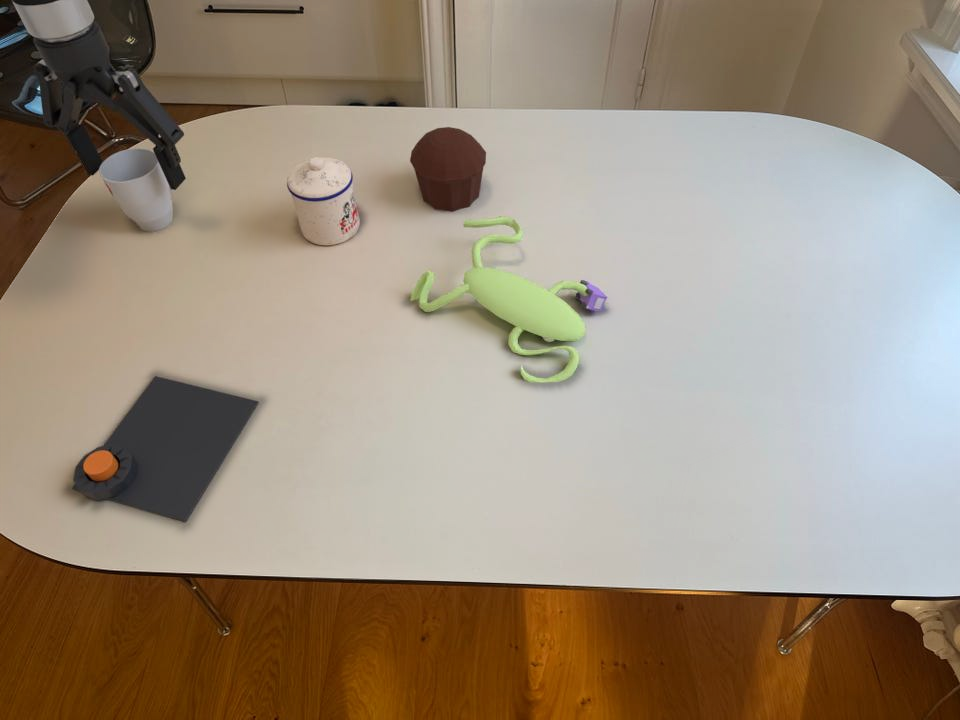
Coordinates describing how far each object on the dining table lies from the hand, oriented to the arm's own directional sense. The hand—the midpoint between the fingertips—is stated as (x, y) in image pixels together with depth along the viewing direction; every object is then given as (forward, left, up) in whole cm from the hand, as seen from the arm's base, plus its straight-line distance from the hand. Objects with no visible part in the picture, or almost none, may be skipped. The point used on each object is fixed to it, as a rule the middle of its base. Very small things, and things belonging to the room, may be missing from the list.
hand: (137, 177), depth 100 cm
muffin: (+41, +18, -8) cm, 45 cm away
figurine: (+56, -3, -8) cm, 56 cm away
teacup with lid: (+26, +7, -8) cm, 28 cm away
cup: (0, 0, -8) cm, 8 cm away
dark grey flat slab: (+25, -35, -8) cm, 44 cm away
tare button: (+21, -41, -5) cm, 46 cm away
